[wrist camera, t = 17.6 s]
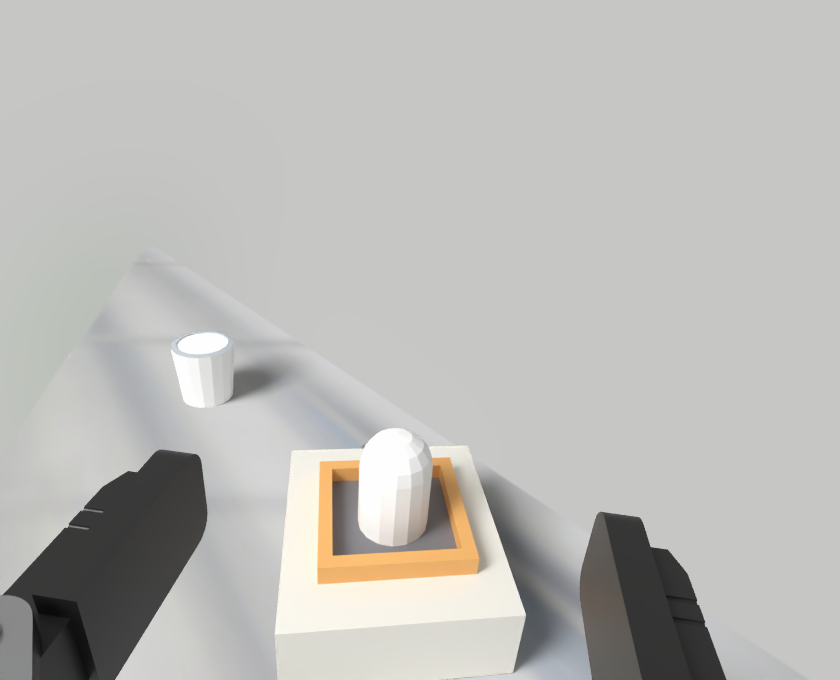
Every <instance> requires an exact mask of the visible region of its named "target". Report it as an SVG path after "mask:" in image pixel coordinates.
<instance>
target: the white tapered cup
mask: <svg viewBox="0 0 840 680" xmlns="http://www.w3.org/2000/svg"><path fill="white" fill-rule="evenodd" d="M171 352H172V356H173V360H174V364H175V368H176V372H177V376H178V380H179V383H180V387H181V391H182V395H183V399H184V401H185V402H186V403H187V404H188V405H191V406H193V407H200V408H207V407H215V406H218V405H220V404H223V403H225V402H226V401H228V400H229V399H230V398H231V397H232V395H233V375H234V340H233V338H232V337H231V336H230V335H228V334H226V333H223V332H219V331H197V332H192V333H188V334H185V335H182V336H180V337H179V338H177V339H175V340H174V341H173V342H172V344H171Z"/></svg>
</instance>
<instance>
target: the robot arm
mask: <svg viewBox="0 0 840 680" xmlns="http://www.w3.org/2000/svg"><path fill="white" fill-rule="evenodd" d="M206 522H207V504H206V496H205V488H204V480H203V472H202V464H201V460H200V457H199V456H198V455H196V454H190V453H183V452H176V451H169V450H158V451H157V452H155V453H154V454H153V455H152V456H151V457H150V459H149V460H148V461H147V462H146V463H145V464H144V466H143V467H142V468H141V469H140V470H139V471H138V472H130V471H128V472H126V473H124V474H123V475H121V476H120V477H118V478H116V479H115V480H113V481H111V482H110V483H108V484H107V485H105V486H103V487H102V488H101V489H100V490H99V491H98V492H97V494H96V495H95V496H94V497H93V498H92V499H91V500H90V501H89V502H88V503H87V504H86V505H85V507H84V510H83V511H80V512H79V513H78V514H77V515H76V516H75V517H74V518H73V520H72V521H71V522H70V523H69V526H68V528H64V529H63V530H62V532H61V533H60V534H59V535H58V536H57V537H56V538H55V539H54V540H53V541H52V542H51V543H50V545H49V546H48V547H47V548H46V549H45V550H44V551H43V552H42V553H41V554H40V555H39V556H38V558H37V559H36V560H35V561H34V562H33V563H32V564H31V565H30V566H29V567H28V568H27V569H26V571H25V572H24V573H23V574H22V575H21V576H20V577H19V578H18V579H17V580H16V581H15V583H14V584H13V585H12V586H11V587H10V588H9V589H8V590H7V591H6V592H5V593H4V594H3V595H1V596H0V680H115V679H116V677H117V676H118V674H119V672H120V671H121V669H122V667H123V666H124V664H125V663H126V661H127V659H128V658H129V656H130V654H131V653H132V651H133V650H134V648H135V646H136V645H137V643H138V642H139V640H140V638H141V637H142V635H143V633H144V632H145V630H146V629H147V627H148V625H149V624H150V622H151V620H152V619H153V617H154V616H155V614H156V612H157V611H158V609H159V607H160V606H161V604H162V603H163V601H164V599H165V598H166V596H167V594H168V593H169V591H170V590H171V588H172V586H173V585H174V583H175V581H176V580H177V578H178V577H179V575H180V573H181V572H182V570H183V568H184V567H185V565H186V564H187V562H188V560H189V559H190V557H191V555H192V554H193V552H194V551H195V549H196V547H197V546H198V544H199V542H200V541H201V538H202V536H203V533H204V530H205V527H206ZM580 601H581V608H582V615H583V622H584V628H585V635H586V641H587V648H588V655H589V661H590V668H591V674H592V680H726V678H725V675H724V672H723V669H722V667H721V664H720V661H719V658H718V656H717V653H716V650H715V648H714V645H713V642H712V639H711V637H710V634H709V631H708V628H707V627H705V620H704V618H703V615H702V612H701V609H700V607H699V605H697V599H696V596H695V593H694V590H693V588H692V585H691V582H690V579H689V577H688V574H687V573H686V571H685V570H684V569H683V568H682V567H681V565H680V564H679V563H678V562H677V560H676V559H675V558H674V557H673V556H672V554H671V553H670V552H669V551H668V550H666V549H659V548H652V547H650V544H649V541H648V538H647V534H646V531H645V528H644V525H643V522H642V520H641V519H640V518H639V517H633V516H626V515H619V514H611V513H605V512H599V513H598V514H597V516H596V519H595V522H594V526H593V529H592V533H591V537H590V540H589V544H588V547H587V551H586V555H585V558H584V562H583V565H582V570H581V577H580Z"/></svg>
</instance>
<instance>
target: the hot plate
mask: <svg viewBox="0 0 840 680" xmlns="http://www.w3.org/2000/svg"><path fill="white" fill-rule="evenodd" d="M367 443H368V442H367ZM367 443H366V444H367ZM366 444H364V445H363V447H362V448H361V449H330V450H296V451H292V455H291V466H290V476H289V487H288V498H287V509H286V520H285V530H284V541H283V552H282V563H281V573H280V584H279V595H278V606H277V616H276V627H275V646H276V661H277V677H278V680H444V679H455V678H465V677H476V676H487V675H497V674H508V673H513V670H514V666H515V662H516V657H517V653H518V649H519V644H520V640H521V636H522V631H523V627H524V622H525V618H526V613H525V610H524V608H523V605H522V602H521V599H520V596H519V593H518V590H517V587H516V584H515V581H514V579H513V576H512V573H511V570H510V567H509V564H508V561H507V558H506V555H505V552H504V549H503V547H502V544H501V541H500V538H499V535H498V532H497V529H496V526H495V523H494V520H493V517H492V515H491V512H490V509H489V506H488V503H487V500H486V497H485V494H484V491H483V488H482V485H481V483H480V480H479V477H478V474H477V471H476V468H475V465H474V462H473V459H472V456H471V454H470V451H469V448H468V446H434V447H429V450H430V452H431V455H432V462H433V470H432V480H431V490H430V499H429V509H428V519H427V525H426V530H425V531H424V533H423V534H422V535H421V536H420V537H419V539H417V540H415V541H413V542H411V543H409V544H407V545H401V546H394V547H392V546H386V545H381V544H377V543H376V542H374V541H372V540H370V539H368V538H367V537H366V536H365V535H364V534H363V532H362V531H361V530H360V528H359V523H358V495H359V463H360V460H361V456H362V453H363V450H364V448H365V445H366Z"/></svg>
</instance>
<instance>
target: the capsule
mask: <svg viewBox="0 0 840 680" xmlns="http://www.w3.org/2000/svg"><path fill="white" fill-rule="evenodd" d="M432 470H433V462H432V455H431V452H430V450H429V447H428V446H427V444H426V443H425V442H424V440H423V439H422V438H421V437H420V436H419V435H418V434H416V433H415V432H412V431H410V430H408V429H402V428H390V429H386V430H383V431H380V432H378V433H377V434H376V435H375V436H374V437H373V438H372V439H371V440H370V441H369V442H368V443H367V444H366V445H365V448H364V450H363V453H362V456H361V460H360V463H359V495H358V523H359V528H360V530H361V531H362V532H363V534H364V535H365V536H366V537H367V538H368V539H370V540H372V541H374V542H376V543H377V544H381V545H386V546H392V547H394V546H401V545H407V544H409V543H411V542H413V541H415V540H417V539H419V537H420V536H421V535H422V534H423V533H424V531H425V530H426V525H427V519H428V509H429V499H430V490H431V480H432Z"/></svg>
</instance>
